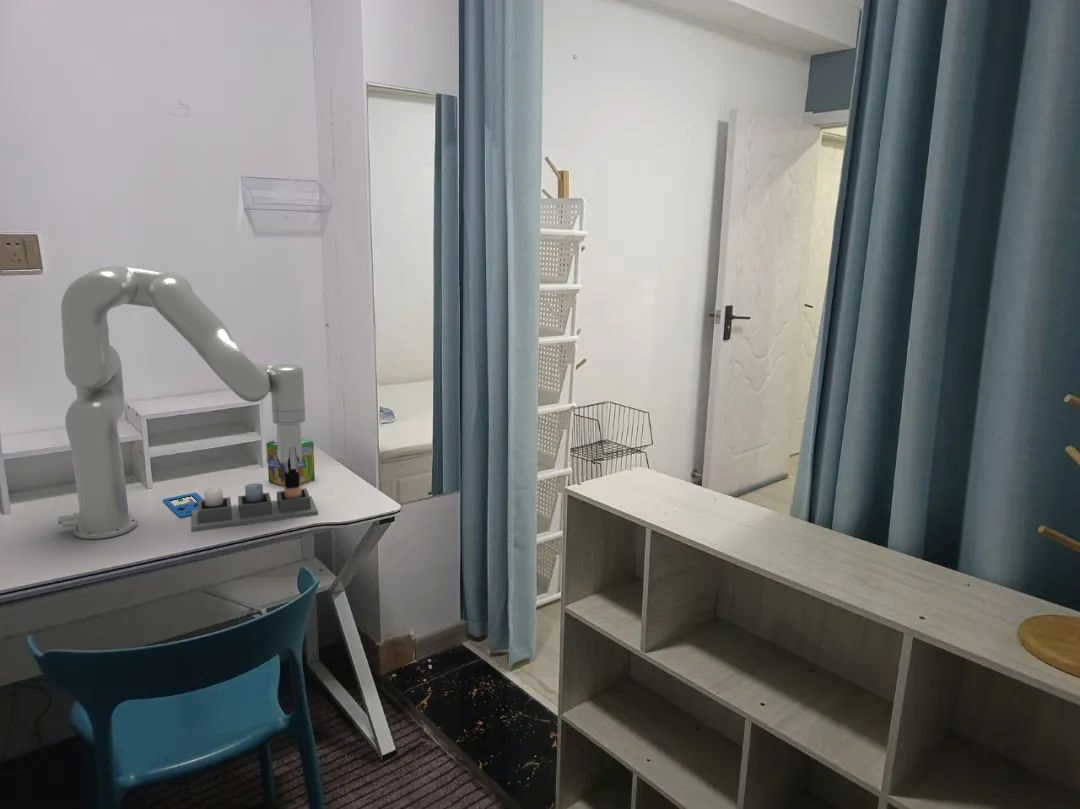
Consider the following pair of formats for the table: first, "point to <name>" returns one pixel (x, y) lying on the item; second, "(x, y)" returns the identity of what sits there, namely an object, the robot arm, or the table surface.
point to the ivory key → (213, 496)
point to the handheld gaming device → (183, 505)
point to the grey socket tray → (252, 511)
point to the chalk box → (278, 469)
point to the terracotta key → (293, 492)
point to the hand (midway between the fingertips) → (292, 486)
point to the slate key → (254, 492)
